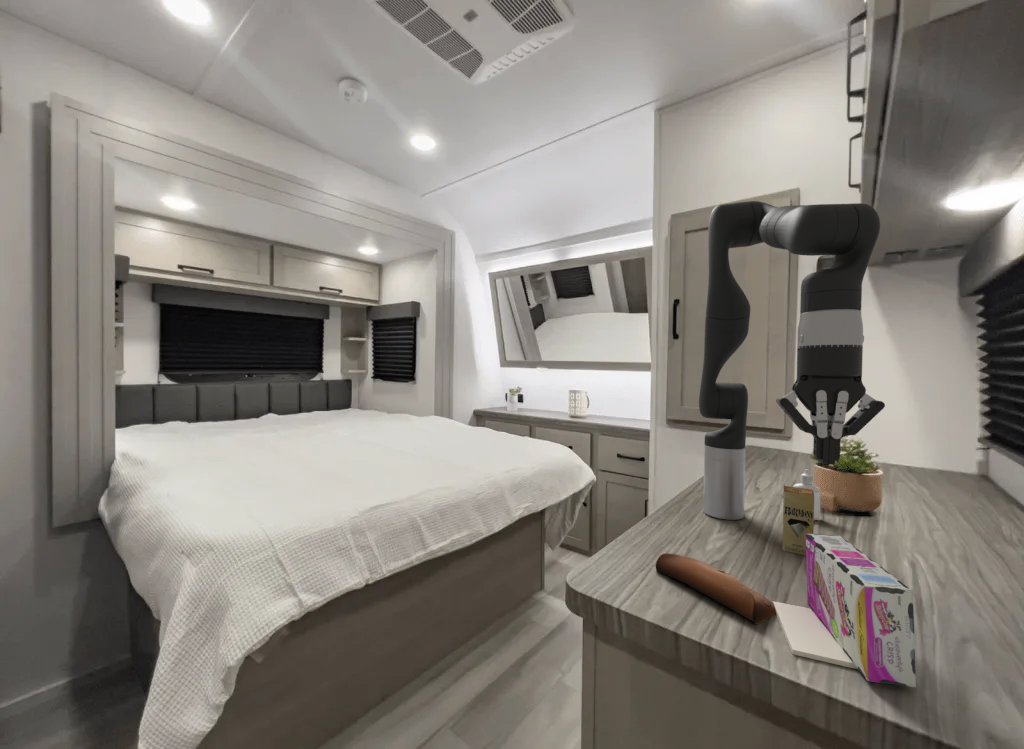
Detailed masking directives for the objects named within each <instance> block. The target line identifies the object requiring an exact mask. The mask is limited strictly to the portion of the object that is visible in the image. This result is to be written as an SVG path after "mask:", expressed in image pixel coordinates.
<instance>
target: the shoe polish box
mask: <svg viewBox="0 0 1024 749" xmlns="http://www.w3.org/2000/svg"><path fill="white" fill-rule="evenodd" d="M782 505H783V506H782V510H783V511H782V551H784V552H790V553H794V554H798V555H804V556H806V548H805V534H814V527H815V525H814V524H815V520H814V493H813V490H811V489H804V488H797V487H793V486H789V485H783V504H782Z"/></svg>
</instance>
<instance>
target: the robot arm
mask: <svg viewBox="0 0 1024 749" xmlns="http://www.w3.org/2000/svg"><path fill="white" fill-rule="evenodd" d="M880 228H881V219H880V217H879V214H878V212H877V211H876V209H875V208H874V207H872V205H870V204H867V203H856V202H855V203H830V204H829V203H827V204H826V203H824V204H823V203H822V204H808V205H805V204H802V205H784V206H779V207H778V206H774V205H772V204H770V203H767V202H763V201H758V200H749V201H741V202H740V201H739V202H733V203H725V204H724V203H723V204H718V205H716V206H714V208H713V209H712V211H711V213H710V216H709V221H708V232H707V234H708V235H707V236H708V238H707V239H708V242H707V244H708V245H707V246H708V249H707V250H708V285H707V294H706V295H707V297H706V298H707V299H706V307H705V318H704V319H705V320H704V348H703V349H704V350H703V362H702V363H703V364H702V372H701V378H700V379H701V381H700V388H699V397H698V408H699V409H698V410H699V413H700V415H701V417H702V418H704V419H706V418H707V419H716V420H717V419H718V420H730V422H729V424H727V425H726V426H724V427H723V428H719V429H718V430H714V431H710V432H707V433H705V435H704V446H703V448H704V451H703V457H704V458H703V460H704V462H703V499H702V501H703V502H702V508H703V509H702V511H703V513H704V514H705V515H708V516H710V517H713V518H716V519H720V520H721V519H722V520H729V521H737V520H742V519H744V518H745V489H746V487H745V484H746V483H745V480H746V441H747V440H746V439H747V438H746V437H747V416H748V407H749V393H748V389H747V387H746V385H745V384H744V383H741V382H740V383H739V382H717V380H718V377H719V375H720V373H721V370H722V369H723V367H724V366H725V364H726V363H727V362H728V360H729V359H730V358H731V357H732V356H733V355H734V354H735V353H736V352H737V350H738V349H739V348H740V347H741V345H742V344H744V341H745V340H746V338H747V337H748V334H749V330H750V329H749V328H750V319H751V305H750V304H751V303H750V301H749V299H748V297H747V296H746V294H745V292H744V291H743V289H742V287H741V286H740V285H739V283H738V282H737V280H736V278H735V277H734V274H733V272H732V270H731V269H732V268H731V266H730V260H729V257H730V256H729V251H730V250H729V249H733V248H734V249H736V248H746V247H750V246H755V245H758V244H759V245H760V244H763V243H765V244H766V245H767V246H769V247H771V248H775V249H780V250H786V251H788V252H789V253H791V254H793V255H796V256H797V255H799V256H806V257H807V256H810V257H811V256H834V261H833V264H832V266H831V267H830V268H828V269H824V270H819V271H814V272H811V273H810V274H807V275H806V276H805V277H803V279H802V281H801V284H800V286H801V287H800V304H799V305H800V308H799V309H800V311H799V322H798V327H797V342H796V343H797V348H796V349H797V351H796V352H797V353H796V380H795V383H793V385H792V388H791V389H792V390H791V391H790V392H788V393H787V394H785V395H783V396H780V397H779V396H778V397H777V398H776V401H775V402H776V404H777V405H778V406H779V407H780V408H781V409H782V411H783V412H784V413H785V414H786V415H787V417H789V419H790V420H791V421H792V422H793V423H794V425H796V427H797V428H798V429H799V430H800V431H802V432H804V433H807V434H811V436H812V437H813V444H812V445H813V446H812V447H813V448H812V449H813V450H812V452H813V457H814V458H815V459H817V461H818V463H820V464H821V465H831V466H832V465H833V466H834V465H835V464H836V462H839V460H840V458H841V440H842V439H843V438H844V437H848V436H856V435H857V434H859V432H860V431H861V430H862V429H863V428H864V427H865V426H866V425H867V424H868V423H870V422H871V421H872V420H873V419H874V418H875V417H876V416H877V415H878V414H879V413H881V411H883V409H884V408H885V407H886V405H885V403H884V401H882V400H877V399H874V398H873V397H872V396H871V395H869V394H867V389H866V386H865V385H864V383H863V381H862V379H863V378H862V377H863V355H864V354H863V351H864V349H863V346H864V345H863V344H864V341H865V336H864V325H863V319H862V297H863V296H862V295H863V294H862V291H863V287H862V286H863V282H864V277H865V274H866V272H867V269H868V266H869V263H870V260H871V256H872V254H873V251H874V249H875V246H876V243H877V241H878V239H879V235H880V230H881V229H880ZM797 399H798V400H799V401H800V403H801V404H802V405H803V406H804V407H805V409H806V410H807V411H809V415H810V417H809V418H810V420H811V424H810V422H809V421H808V420H806V418H805V417H804V416H803V415H802V413H801V412H800V411H799V410H798V409H797V407H798V405H799V402H798V401H797ZM858 402H859V403H858ZM857 403H858V404H857ZM856 404H857V408H858V410H857V411H856V412H855V413H854V414H853V415H852V416H851V417H849V419H848V420H847V421H846V414H847V413H849V412H850V411H851V410H852V408H854V406H856Z"/></svg>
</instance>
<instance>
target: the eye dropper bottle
mask: <svg viewBox="0 0 1024 749" xmlns="http://www.w3.org/2000/svg"><path fill="white" fill-rule="evenodd" d="M813 483H814V475H812V474H811V473H810V471H809V469H804V472H803V473H801V474H800V483H798V482H797V483H795V484H794V485H792V487H797V488H804V489H811V490H813V493H814V521H815V520H818V521H820V520H821V519H820V518H821V488H820V487H818V486H816V485H814V484H813Z"/></svg>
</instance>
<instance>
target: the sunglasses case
mask: <svg viewBox="0 0 1024 749" xmlns="http://www.w3.org/2000/svg"><path fill="white" fill-rule="evenodd" d="M655 570H656V571H657V572H659V573H662V574H663V575H665V576H667V577H670V578H672V579H675V580H677V581H679V582H681V583H684V584H686V585H688V586H689V587H691V588H692V589H694V590H696V591H698V592H699V593H702V594H704V595H705V596H708V597H709V598H712V599H713V600H714V601H716V602H718V603H720V604H722V606H725V607H728V608H729V609H730V610H733V611H734V612H736V613H738V614H739V615H741V616H743V617H744V618H746V619H748V620H750V621H752V622H753V624H754V625H756V626H757V625H758V624H761V623H762V622H763V621H765V620H768V619H769V618H771V617H773V616H775V615H776V610H775V606H774V603H773V601H772V600H770V599H769V598H767V597H766V596H764V595H762V593H759V592H758V591H757V590H755V589H753V588H751V587H749V586H747V585H745V584H743V583H742V582H741V581H740V580H739V579H738V578H737V577H736V576H734V575H733V574H730V573H727V572H726V571H725V570H723V569H720V568H719V567H718V568H717V567H715V566H713V565H710V564H709V563H706V562H704V561H701V560H699V559H696V558H693V557H688V556H686V555H681V554H676V553H661V554H660V556H658V558H657V560H656V562H655Z"/></svg>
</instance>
